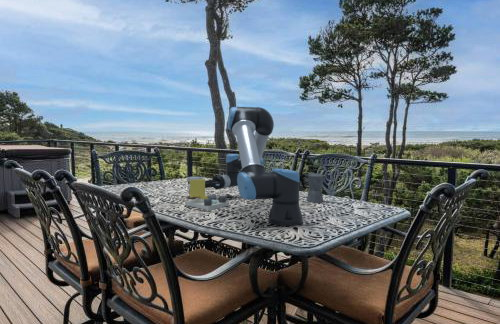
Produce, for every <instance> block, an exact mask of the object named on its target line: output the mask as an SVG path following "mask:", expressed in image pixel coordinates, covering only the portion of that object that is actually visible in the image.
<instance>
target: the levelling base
mask: <svg viewBox="0 0 500 324" xmlns="http://www.w3.org/2000/svg"><path fill="white" fill-rule="evenodd" d="M184 203H185V204H184V205H185V206H186V207H187V206H188V207H192V208H196V209H201V210H206V211H211V210H216V209H220V208H223V207H224V208H225V207H229V206H230V201H227V196H226V195H219V196H218V199H217V200H212V199H200V198H196V199H192V200H187V201H185V202H184Z"/></svg>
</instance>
